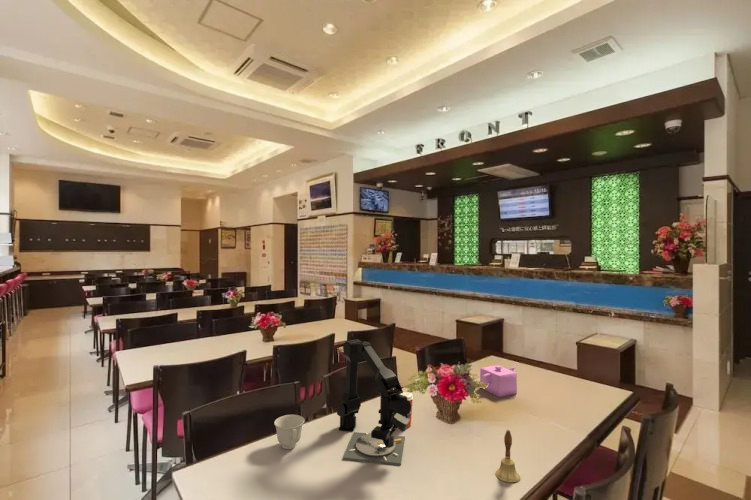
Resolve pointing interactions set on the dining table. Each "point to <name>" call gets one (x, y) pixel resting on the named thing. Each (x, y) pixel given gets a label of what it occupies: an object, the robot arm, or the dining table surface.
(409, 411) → the robot arm
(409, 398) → the paper cup
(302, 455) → the dining table surface
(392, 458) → the grey dial base plate
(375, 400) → the dining table surface
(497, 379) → the teapot
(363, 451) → the dial
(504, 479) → the hand bell
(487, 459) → the dining table surface
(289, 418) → the teacup
